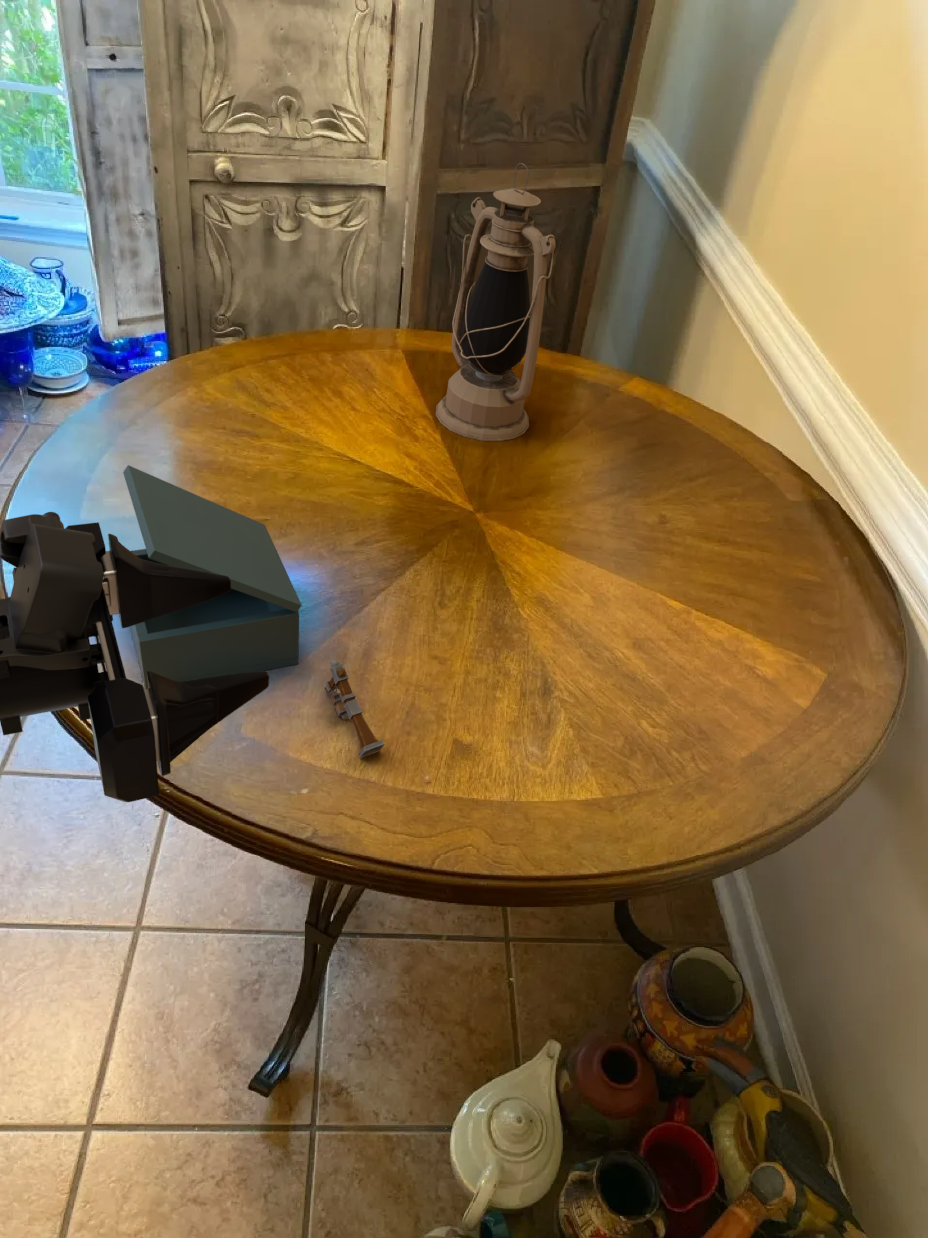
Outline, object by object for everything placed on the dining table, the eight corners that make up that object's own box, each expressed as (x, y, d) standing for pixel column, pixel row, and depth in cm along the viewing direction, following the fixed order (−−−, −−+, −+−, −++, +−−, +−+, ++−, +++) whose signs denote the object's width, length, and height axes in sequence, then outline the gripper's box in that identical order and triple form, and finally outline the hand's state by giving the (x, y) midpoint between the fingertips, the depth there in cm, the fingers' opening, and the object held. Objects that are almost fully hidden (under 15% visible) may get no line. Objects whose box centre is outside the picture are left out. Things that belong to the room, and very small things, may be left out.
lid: (148, 558, 66) (154, 550, 65) (122, 472, 73) (127, 464, 73) (296, 612, 75) (302, 605, 74) (260, 531, 82) (265, 524, 82)
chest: (146, 694, 74) (139, 641, 70) (123, 604, 81) (115, 552, 78) (298, 664, 79) (299, 613, 75) (263, 581, 86) (262, 531, 83)
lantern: (410, 400, 117) (436, 145, 97) (481, 382, 123) (519, 140, 104) (482, 454, 109) (526, 189, 90) (554, 432, 116) (609, 180, 96)
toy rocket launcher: (333, 674, 77) (345, 652, 73) (371, 760, 75) (386, 742, 71) (314, 681, 76) (325, 659, 72) (351, 768, 74) (365, 750, 70)
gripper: (-47, 690, 40) (298, 631, 47) (-65, 461, 52) (212, 440, 59) (-6, 840, 47) (289, 771, 54) (-30, 609, 59) (213, 575, 66)
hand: (248, 629), depth 58 cm, fingers open, 9 cm apart
